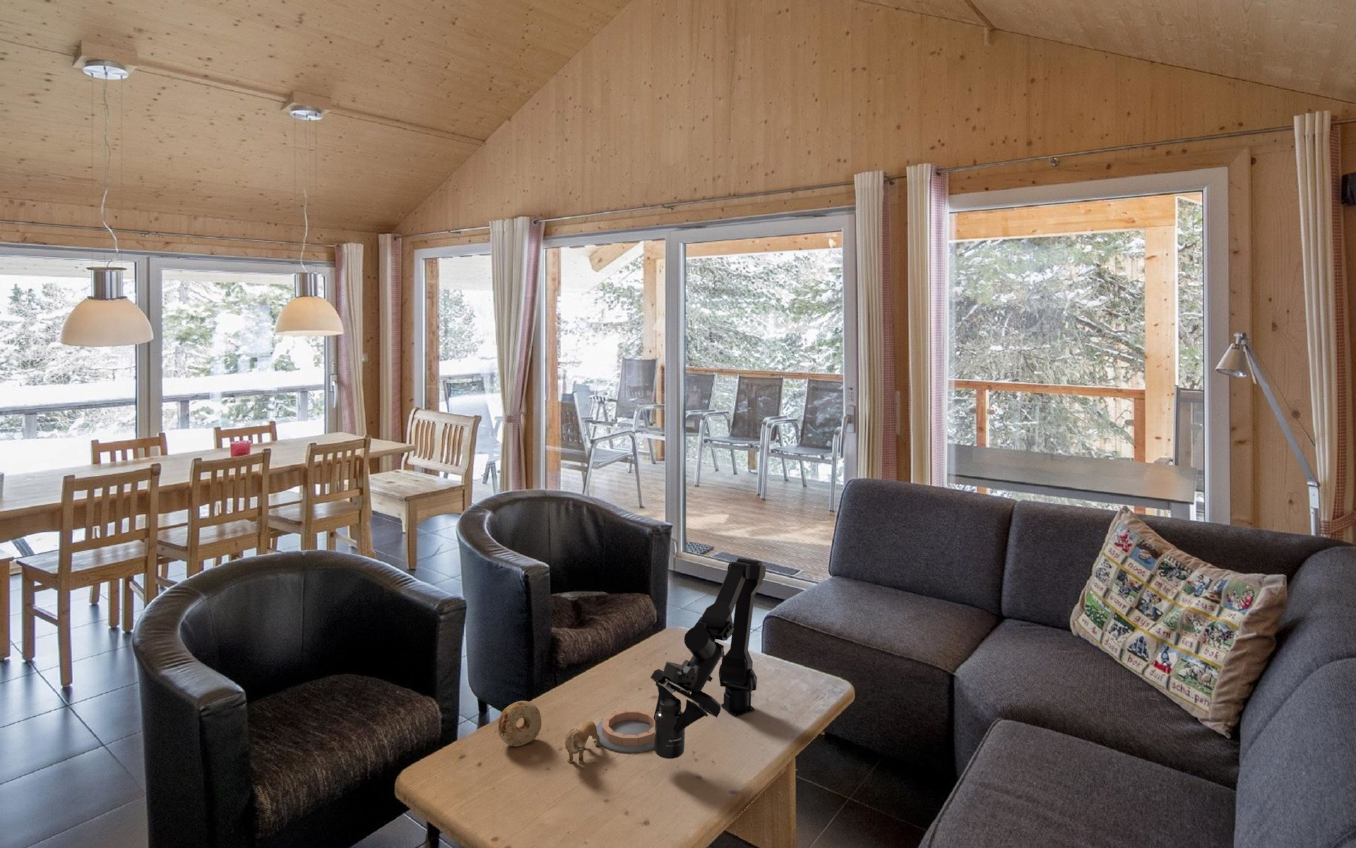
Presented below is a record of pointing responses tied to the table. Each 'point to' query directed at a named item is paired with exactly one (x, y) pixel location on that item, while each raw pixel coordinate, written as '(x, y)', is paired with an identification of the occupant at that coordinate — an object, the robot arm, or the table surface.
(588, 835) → the table surface
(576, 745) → the lion figurine
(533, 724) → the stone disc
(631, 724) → the ring tray
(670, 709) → the supplement bottle
